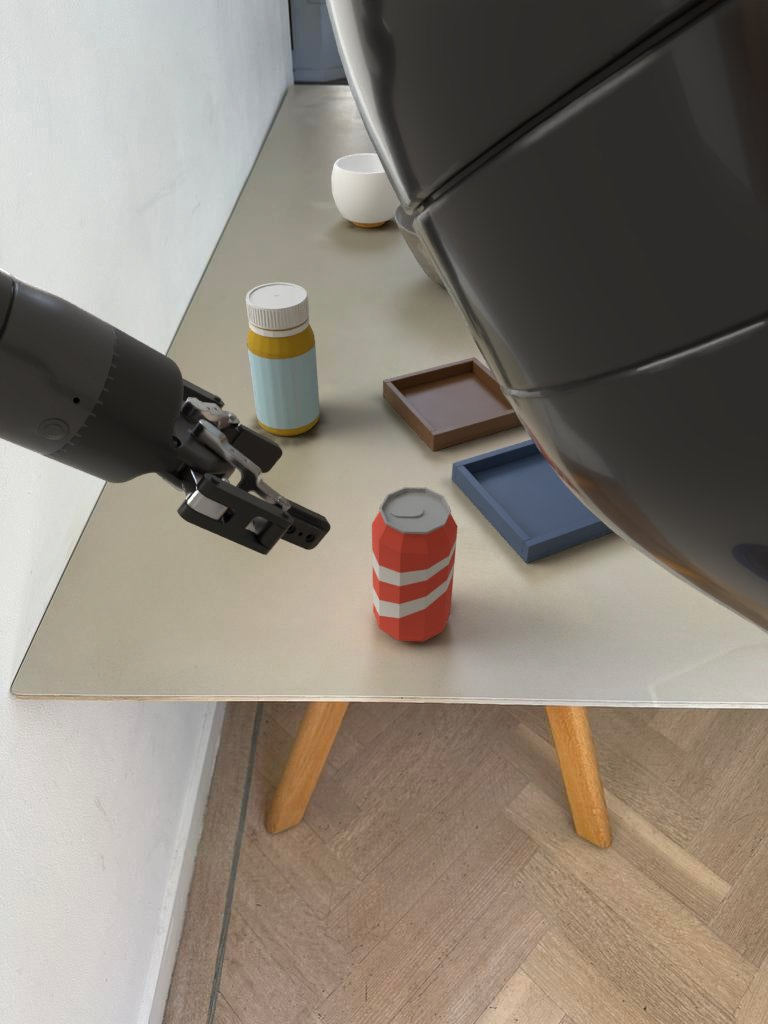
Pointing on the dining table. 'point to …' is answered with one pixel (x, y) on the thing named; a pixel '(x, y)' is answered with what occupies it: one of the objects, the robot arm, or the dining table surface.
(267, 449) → the robot arm
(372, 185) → the cup
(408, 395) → the tray
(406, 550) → the beverage can
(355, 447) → the dining table surface
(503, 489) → the tray
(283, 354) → the bottle
